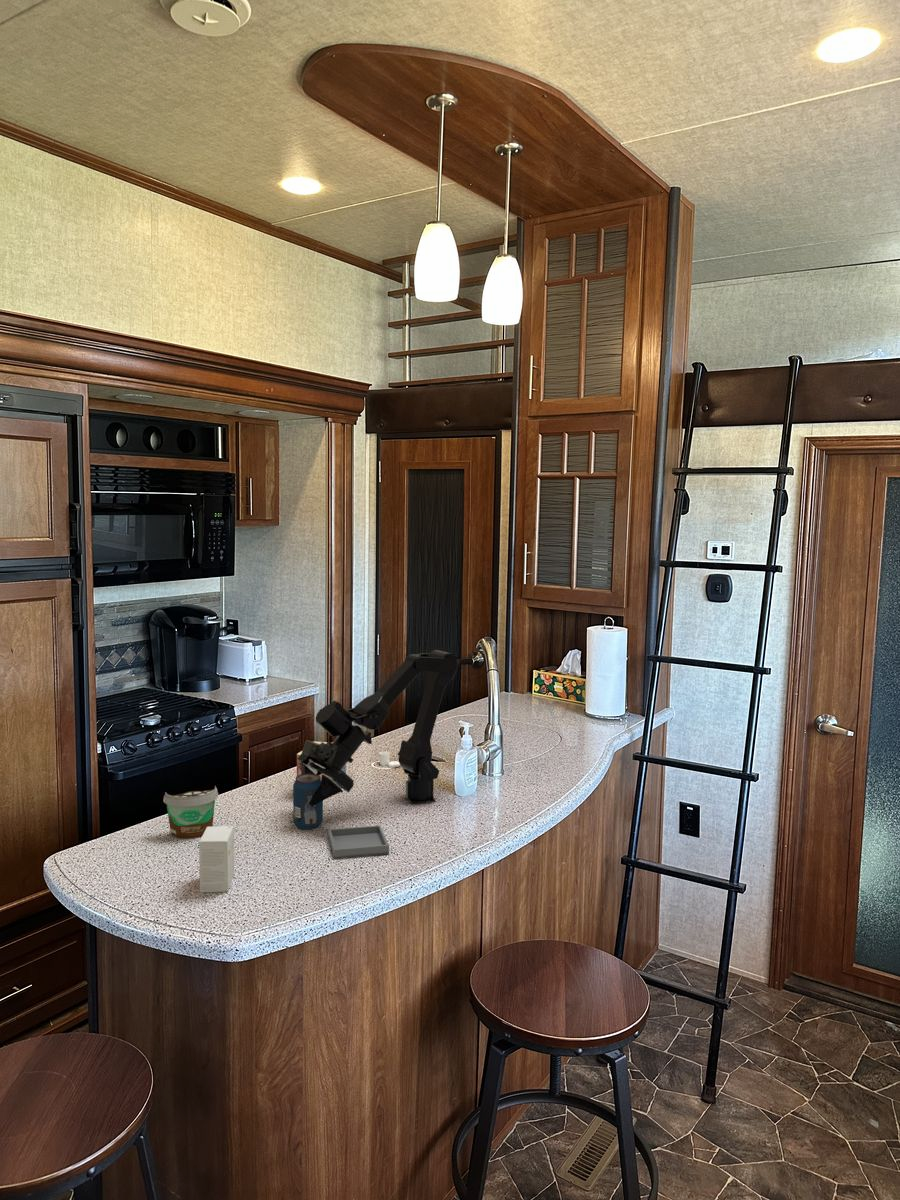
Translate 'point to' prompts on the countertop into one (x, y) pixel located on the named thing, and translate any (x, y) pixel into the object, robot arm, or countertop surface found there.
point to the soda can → (306, 802)
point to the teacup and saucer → (386, 761)
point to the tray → (358, 842)
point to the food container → (190, 812)
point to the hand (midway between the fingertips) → (302, 800)
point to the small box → (216, 859)
